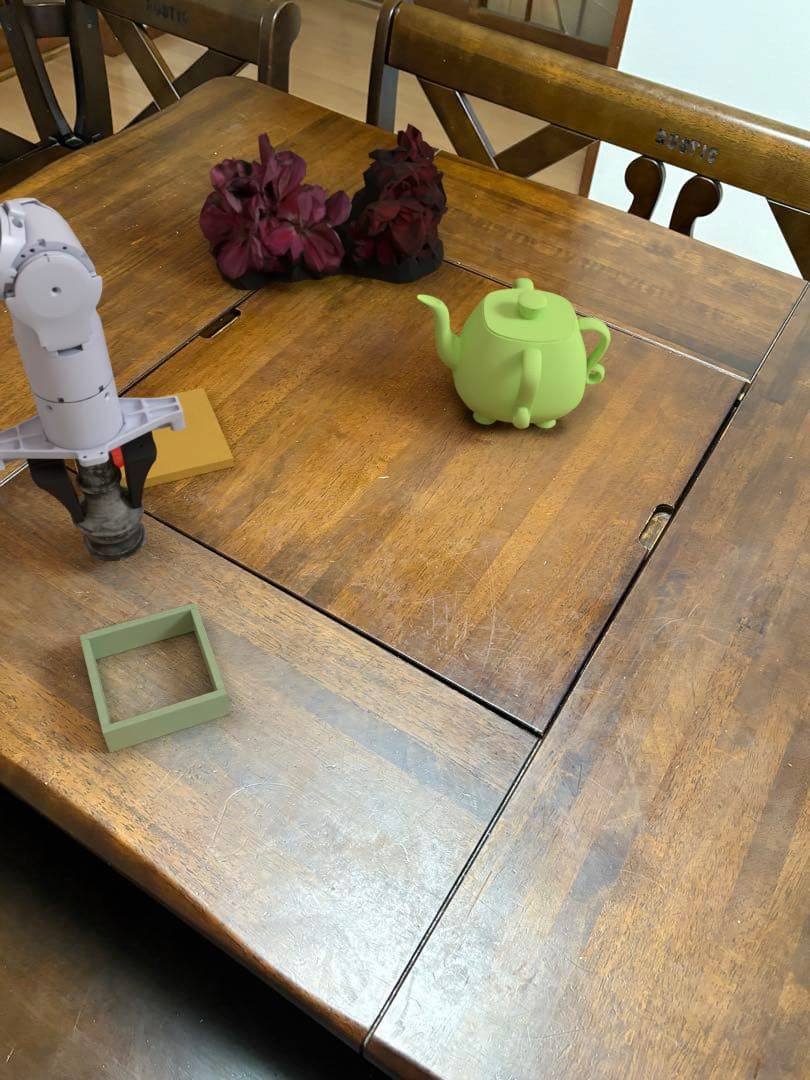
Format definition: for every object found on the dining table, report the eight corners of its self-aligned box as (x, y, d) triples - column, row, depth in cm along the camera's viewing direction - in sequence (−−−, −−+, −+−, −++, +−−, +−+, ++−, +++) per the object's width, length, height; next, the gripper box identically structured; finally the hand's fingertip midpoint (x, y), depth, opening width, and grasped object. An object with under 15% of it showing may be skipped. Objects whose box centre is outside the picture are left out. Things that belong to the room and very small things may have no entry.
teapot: (494, 471, 90) (513, 370, 81) (407, 392, 97) (415, 290, 88) (608, 411, 97) (638, 311, 88) (519, 341, 104) (538, 242, 95)
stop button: (95, 476, 83) (92, 462, 82) (89, 454, 85) (85, 440, 83) (129, 468, 84) (125, 454, 82) (122, 446, 86) (119, 433, 84)
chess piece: (81, 569, 76) (47, 466, 67) (77, 518, 80) (45, 414, 70) (153, 557, 77) (130, 454, 68) (147, 507, 81) (123, 403, 72)
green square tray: (109, 753, 68) (102, 733, 66) (86, 656, 73) (78, 634, 71) (230, 714, 71) (227, 693, 68) (199, 623, 76) (195, 601, 74)
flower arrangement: (413, 198, 124) (421, 84, 112) (479, 277, 112) (495, 159, 101) (186, 237, 114) (170, 116, 103) (233, 327, 103) (221, 203, 91)
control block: (88, 510, 84) (81, 487, 81) (65, 426, 91) (58, 403, 88) (237, 473, 88) (235, 451, 85) (204, 396, 95) (201, 373, 93)
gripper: (-31, 436, 61) (22, 565, 71) (185, 390, 65) (205, 518, 75) (-42, 372, 65) (9, 503, 75) (162, 332, 69) (184, 461, 79)
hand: (106, 507), depth 75 cm, fingers closed on chess piece, 4 cm apart
